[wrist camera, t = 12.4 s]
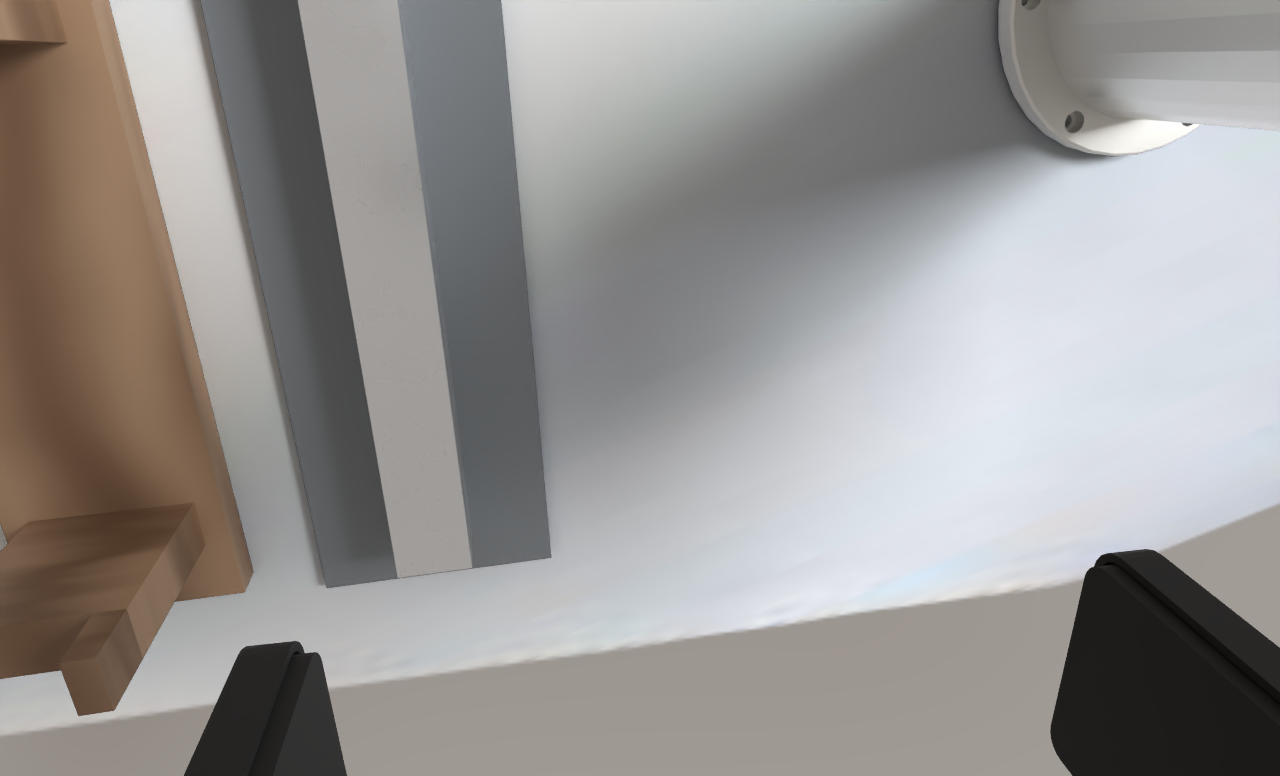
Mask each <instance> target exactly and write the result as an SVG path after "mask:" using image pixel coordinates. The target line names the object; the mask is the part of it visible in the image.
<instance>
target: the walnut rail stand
mask: <svg viewBox="0 0 1280 776" xmlns="http://www.w3.org/2000/svg"><path fill="white" fill-rule="evenodd" d="M0 524H1V527H2V529H3V532H4V535H5V537H6V540H7V543H8V544H7V545H6V546H5V547H4V548H3V549H2V550H1V551H0V679H4V678H10V677H17V676H24V675H31V674H38V673H45V672H52V671H59V670H61V671H62V674H63V676H64V679H65V682H66V684H67V687H68V690H69V692H70V695H71V698H72V700H73V703H74V706H75V708H76V711H77V714H78V716H82V715H89V714H95V713H102V712H109V711H114V710H115V708H116V706H117V705H118V703H119V701H120V699H121V697H122V696H123V694H124V692H125V690H126V688H127V687H128V685H129V683H130V681H131V679H132V677H133V676H134V674H135V672H136V670H137V668H138V667H139V665H140V663H141V661H142V659H143V658H144V656H145V654H146V652H147V650H148V649H149V647H150V645H151V643H152V641H153V639H154V638H155V636H156V634H157V632H158V630H159V629H160V627H161V625H162V623H163V621H164V620H165V618H166V616H167V614H168V612H169V611H170V609H171V607H172V605H173V603H174V602H176V601H184V600H191V599H199V598H206V597H214V596H221V595H229V594H236V593H243V592H245V590H246V588H247V586H248V583H249V581H250V579H251V577H252V574H253V569H252V565H251V561H250V557H249V553H248V549H247V545H246V541H245V537H244V533H243V529H242V525H241V521H240V517H239V513H238V509H237V506H236V502H235V498H234V494H233V490H232V486H231V482H230V478H229V474H228V470H227V466H226V462H225V458H224V454H223V450H222V446H221V442H220V438H219V434H218V430H217V426H216V422H215V418H214V414H213V411H212V407H211V403H210V399H209V395H208V391H207V387H206V383H205V379H204V375H203V371H202V367H201V363H200V359H199V355H198V351H197V347H196V343H195V339H194V335H193V331H192V327H191V323H190V319H189V316H188V312H187V308H186V304H185V300H184V296H183V292H182V288H181V284H180V280H179V276H178V272H177V268H176V264H175V260H174V256H173V252H172V248H171V244H170V240H169V236H168V232H167V228H166V225H165V221H164V217H163V213H162V209H161V205H160V201H159V197H158V193H157V189H156V185H155V181H154V177H153V173H152V169H151V165H150V161H149V157H148V153H147V149H146V145H145V141H144V137H143V133H142V130H141V126H140V122H139V118H138V114H137V110H136V106H135V102H134V98H133V94H132V90H131V86H130V82H129V78H128V74H127V70H126V66H125V62H124V58H123V54H122V50H121V46H120V42H119V38H118V35H117V31H116V27H115V23H114V19H113V15H112V11H111V7H110V3H109V0H0Z"/></svg>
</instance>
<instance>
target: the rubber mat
mask: <svg viewBox="0 0 1280 776" xmlns="http://www.w3.org/2000/svg"><path fill="white" fill-rule="evenodd" d="M201 5H202V10H203V14H204V19H205V24H206V28H207V33H208V38H209V42H210V47H211V52H212V56H213V61H214V66H215V70H216V75H217V80H218V84H219V89H220V94H221V98H222V103H223V108H224V112H225V117H226V122H227V126H228V131H229V136H230V140H231V145H232V150H233V154H234V159H235V164H236V168H237V173H238V177H239V182H240V187H241V191H242V196H243V201H244V205H245V210H246V215H247V219H248V224H249V229H250V233H251V238H252V243H253V247H254V252H255V257H256V261H257V266H258V271H259V275H260V280H261V285H262V289H263V294H264V299H265V303H266V308H267V313H268V317H269V322H270V327H271V331H272V336H273V341H274V345H275V350H276V355H277V359H278V364H279V369H280V373H281V378H282V382H283V387H284V392H285V396H286V401H287V406H288V410H289V415H290V420H291V424H292V429H293V434H294V438H295V443H296V448H297V452H298V457H299V462H300V466H301V471H302V476H303V480H304V485H305V490H306V494H307V499H308V504H309V508H310V513H311V518H312V522H313V527H314V532H315V536H316V541H317V546H318V550H319V555H320V560H321V564H322V569H323V574H324V578H325V583H326V587H327V588H332V587H339V586H346V585H354V584H361V583H369V582H376V581H383V580H391V579H398V576H397V570H396V565H395V559H394V553H393V547H392V542H391V536H390V530H389V524H388V518H387V513H386V507H385V501H384V495H383V490H382V484H381V478H380V472H379V467H378V461H377V455H376V449H375V443H374V438H373V432H372V426H371V420H370V415H369V409H368V403H367V397H366V392H365V386H364V380H363V374H362V368H361V363H360V357H359V351H358V345H357V340H356V334H355V328H354V322H353V317H352V311H351V305H350V299H349V294H348V288H347V282H346V276H345V270H344V265H343V259H342V253H341V247H340V242H339V236H338V230H337V224H336V219H335V213H334V207H333V201H332V195H331V190H330V184H329V178H328V172H327V167H326V161H325V155H324V149H323V144H322V138H321V132H320V126H319V120H318V115H317V109H316V103H315V97H314V92H313V86H312V80H311V74H310V69H309V63H308V57H307V51H306V46H305V40H304V34H303V28H302V22H301V17H300V11H299V5H298V0H201ZM404 7H405V15H406V23H407V30H408V38H409V46H410V54H411V61H412V69H413V77H414V85H415V92H416V100H417V108H418V115H419V123H420V131H421V139H422V146H423V154H424V162H425V170H426V177H427V185H428V193H429V200H430V208H431V216H432V224H433V231H434V239H435V247H436V255H437V262H438V270H439V278H440V285H441V293H442V301H443V309H444V316H445V324H446V332H447V340H448V347H449V355H450V363H451V370H452V378H453V386H454V394H455V401H456V409H457V417H458V425H459V432H460V440H461V448H462V455H463V463H464V471H465V479H466V486H467V494H468V502H469V509H470V517H471V525H472V568H479V567H487V566H494V565H501V564H509V563H516V562H523V561H531V560H538V559H546V558H551V550H550V539H549V528H548V517H547V506H546V495H545V484H544V472H543V461H542V450H541V439H540V428H539V417H538V406H537V395H536V383H535V372H534V361H533V350H532V339H531V328H530V317H529V306H528V294H527V283H526V272H525V261H524V250H523V239H522V228H521V216H520V205H519V194H518V183H517V172H516V161H515V150H514V139H513V127H512V116H511V105H510V94H509V83H508V72H507V61H506V50H505V38H504V27H503V16H502V5H501V0H404ZM472 568H469V569H472ZM461 570H464V569H461ZM454 571H457V570H454ZM446 572H450V571H446ZM439 573H442V572H439ZM432 574H435V573H432ZM424 575H428V574H424ZM417 576H420V575H417ZM409 577H413V576H409ZM402 578H405V577H402Z"/></svg>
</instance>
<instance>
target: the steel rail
mask: <svg viewBox="0 0 1280 776" xmlns="http://www.w3.org/2000/svg"><path fill="white" fill-rule="evenodd" d="M298 5H299V11H300V17H301V22H302V28H303V34H304V40H305V46H306V51H307V57H308V63H309V69H310V74H311V80H312V86H313V92H314V97H315V103H316V109H317V115H318V120H319V126H320V132H321V138H322V144H323V149H324V155H325V161H326V167H327V172H328V178H329V184H330V190H331V195H332V201H333V207H334V213H335V219H336V224H337V230H338V236H339V242H340V247H341V253H342V259H343V265H344V270H345V276H346V282H347V288H348V294H349V299H350V305H351V311H352V317H353V322H354V328H355V334H356V340H357V345H358V351H359V357H360V363H361V368H362V374H363V380H364V386H365V392H366V397H367V403H368V409H369V415H370V420H371V426H372V432H373V438H374V443H375V449H376V455H377V461H378V467H379V472H380V478H381V484H382V490H383V495H384V501H385V507H386V513H387V518H388V524H389V530H390V536H391V542H392V547H393V553H394V559H395V565H396V570H397V576H398V578H402V577H409V576H417V575H424V574H432V573H439V572H446V571H454V570H461V569H469V568H472V525H471V517H470V509H469V502H468V494H467V486H466V479H465V471H464V463H463V455H462V448H461V440H460V432H459V425H458V417H457V409H456V401H455V394H454V386H453V378H452V370H451V363H450V355H449V347H448V340H447V332H446V324H445V316H444V309H443V301H442V293H441V285H440V278H439V270H438V262H437V255H436V247H435V239H434V231H433V224H432V216H431V208H430V200H429V193H428V185H427V177H426V170H425V162H424V154H423V146H422V139H421V131H420V123H419V115H418V108H417V100H416V92H415V85H414V77H413V69H412V61H411V54H410V46H409V38H408V30H407V23H406V15H405V7H404V0H298Z"/></svg>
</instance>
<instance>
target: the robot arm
mask: <svg viewBox="0 0 1280 776" xmlns="http://www.w3.org/2000/svg"><path fill="white" fill-rule="evenodd" d="M999 46H1000V51H1001V57H1002V63H1003V69H1004V72H1005V74H1006V77H1007V80H1008V82H1009V85H1010V88H1011V90H1012V93H1013V96H1014V97H1015V99H1016V100H1017V102H1018V104H1019V105H1020V107H1021V108H1022V110H1023V111H1024V113H1025V114H1026V116H1027V118H1028V119H1030V120H1031V121H1032V122H1033V123H1034V124H1035V125H1036V126H1037V127H1038V128H1039V129H1040V130H1041V131H1042V132H1043V133H1044V134H1045V135H1047V136H1048V137H1050V138H1052V139H1053V140H1055V141H1057V142H1059V143H1060V144H1062V145H1064V146H1066V147H1069V148H1073V149H1076V150H1079V151H1083V152H1086V153H1093V154H1102V155H1109V156H1120V155H1135V154H1140V153H1144V152H1147V151H1151V150H1154V149H1158V148H1162V147H1164V146H1166V145H1168V144H1170V143H1172V142H1174V141H1176V140H1178V139H1180V138H1182V137H1184V136H1186V135H1188V134H1189V133H1190V132H1192V131H1193V130H1195V129H1196V128H1197V127H1199V126H1200V125H1214V126H1226V127H1237V128H1249V129H1260V130H1272V131H1280V0H1022V2H1021V0H1000V2H999ZM1050 732H1051V740H1052V743H1053V746H1054V749H1055V751H1056V753H1057V755H1058V756H1059V758H1060V760H1061V761H1062V763H1063V764H1064V765H1065V766H1066V768H1067V769H1068V770H1069V772H1070V773H1071V774H1072V776H1280V648H1279V647H1278V646H1277V645H1275V644H1274V643H1273V642H1272V641H1270V640H1269V639H1268V638H1267V637H1265V636H1264V635H1263V634H1261V633H1260V632H1259V631H1258V630H1256V629H1255V628H1254V627H1253V626H1251V625H1250V624H1249V623H1248V622H1246V621H1245V620H1244V619H1242V618H1241V617H1240V616H1239V615H1237V614H1236V613H1235V612H1233V611H1232V610H1231V609H1230V608H1228V607H1227V606H1226V605H1225V604H1223V603H1222V602H1221V601H1219V600H1218V599H1217V598H1216V597H1214V596H1213V595H1212V594H1211V593H1209V592H1208V591H1207V590H1206V589H1204V588H1203V587H1202V586H1201V585H1199V584H1198V583H1197V582H1195V581H1194V580H1193V579H1192V578H1190V577H1189V576H1188V575H1186V574H1185V573H1184V572H1183V571H1181V570H1180V569H1179V568H1178V567H1176V566H1175V565H1174V564H1173V563H1171V562H1170V561H1169V560H1167V559H1166V558H1165V557H1164V556H1162V555H1161V554H1159V553H1157V552H1156V551H1154V550H1148V549H1144V550H1134V551H1125V552H1116V553H1107V554H1104V555H1101V556H1100V557H1099V558H1098V560H1097V561H1096V563H1095V566H1094V567H1092V568H1090V569H1089V570H1088V571H1087V573H1086V575H1085V578H1084V582H1083V587H1082V591H1081V596H1080V600H1079V605H1078V609H1077V613H1076V617H1075V622H1074V627H1073V631H1072V635H1071V640H1070V644H1069V648H1068V653H1067V657H1066V661H1065V666H1064V670H1063V675H1062V679H1061V684H1060V688H1059V692H1058V697H1057V701H1056V706H1055V710H1054V714H1053V719H1052V724H1051V731H1050ZM184 776H347V774H346V770H345V765H344V760H343V756H342V751H341V746H340V742H339V737H338V733H337V728H336V724H335V719H334V714H333V710H332V706H331V701H330V696H329V692H328V687H327V682H326V678H325V673H324V669H323V664H322V660H321V657H320V655H319V654H318V653H316V652H314V653H304V650H303V647H302V645H301V644H300V642H297V641H292V642H283V643H274V644H264V645H255V646H246V647H245V648H243V649H242V650H241V651H240V653H239V655H238V657H237V659H236V661H235V663H234V665H233V668H232V670H231V672H230V674H229V676H228V679H227V681H226V683H225V685H224V688H223V690H222V692H221V694H220V696H219V699H218V701H217V703H216V705H215V708H214V710H213V712H212V714H211V717H210V719H209V721H208V723H207V725H206V728H205V730H204V732H203V734H202V736H201V739H200V741H199V743H198V745H197V747H196V750H195V752H194V754H193V756H192V759H191V761H190V763H189V765H188V767H187V770H186V772H185V774H184Z"/></svg>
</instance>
